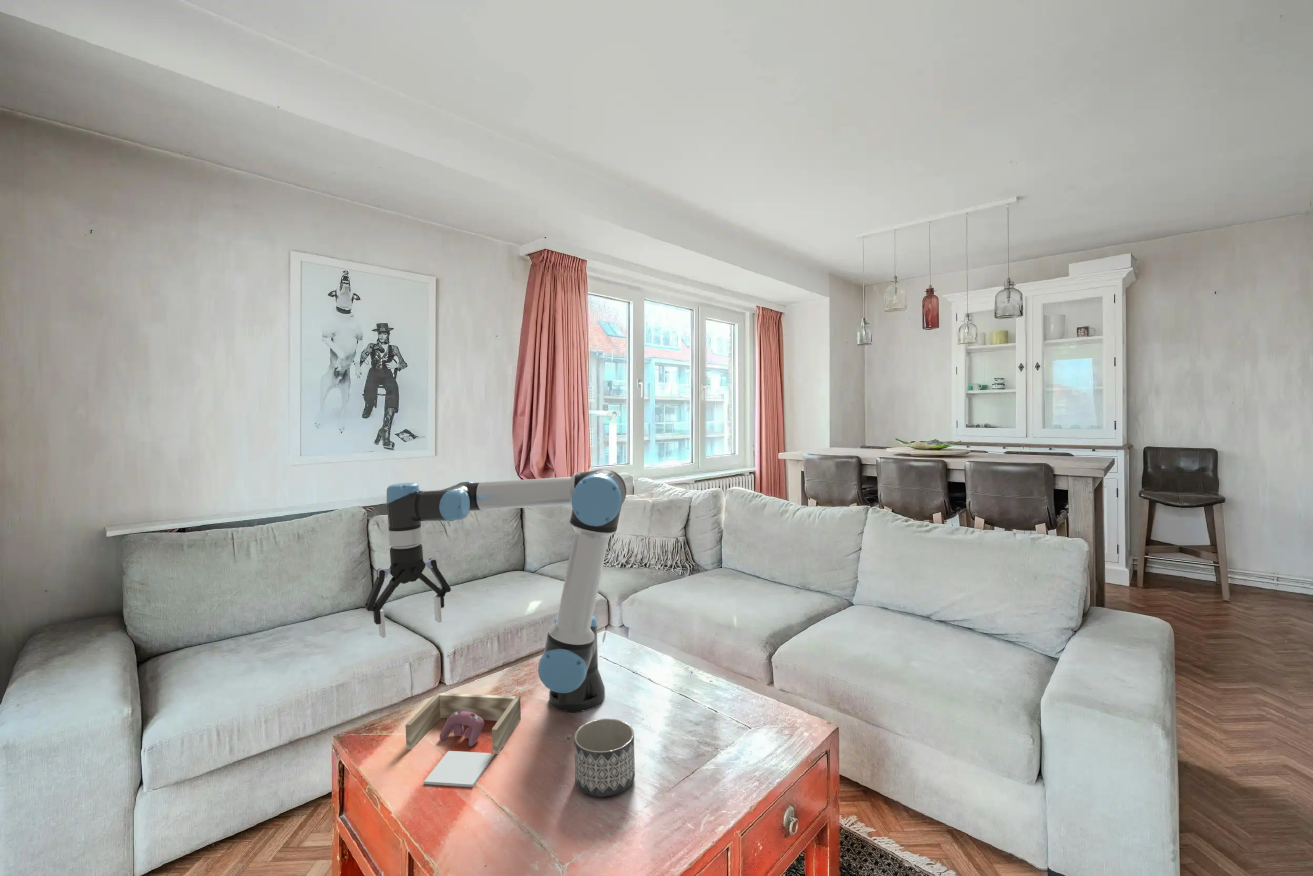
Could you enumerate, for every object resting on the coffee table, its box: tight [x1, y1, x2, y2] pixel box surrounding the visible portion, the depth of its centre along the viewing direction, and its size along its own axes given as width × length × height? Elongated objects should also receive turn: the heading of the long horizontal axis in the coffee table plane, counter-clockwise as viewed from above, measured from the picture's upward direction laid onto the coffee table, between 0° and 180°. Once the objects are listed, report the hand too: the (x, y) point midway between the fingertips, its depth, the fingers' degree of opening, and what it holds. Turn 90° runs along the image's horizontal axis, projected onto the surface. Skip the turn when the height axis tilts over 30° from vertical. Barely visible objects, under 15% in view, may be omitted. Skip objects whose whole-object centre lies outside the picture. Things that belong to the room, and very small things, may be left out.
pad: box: [423, 750, 495, 788], centre depth 128 cm, size 11×11×1 cm
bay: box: [405, 692, 522, 755], centre depth 142 cm, size 22×15×6 cm
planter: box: [573, 718, 636, 798], centre depth 123 cm, size 13×13×10 cm
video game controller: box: [439, 711, 485, 748], centre depth 141 cm, size 10×5×7 cm, turn 71°
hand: (411, 628), depth 146 cm, fingers open, 13 cm apart
